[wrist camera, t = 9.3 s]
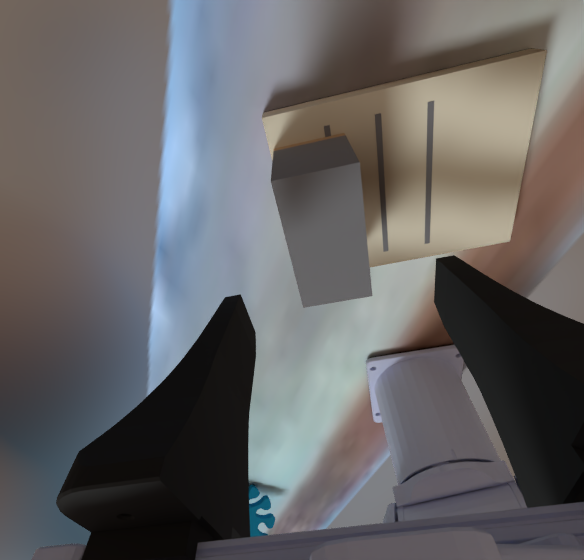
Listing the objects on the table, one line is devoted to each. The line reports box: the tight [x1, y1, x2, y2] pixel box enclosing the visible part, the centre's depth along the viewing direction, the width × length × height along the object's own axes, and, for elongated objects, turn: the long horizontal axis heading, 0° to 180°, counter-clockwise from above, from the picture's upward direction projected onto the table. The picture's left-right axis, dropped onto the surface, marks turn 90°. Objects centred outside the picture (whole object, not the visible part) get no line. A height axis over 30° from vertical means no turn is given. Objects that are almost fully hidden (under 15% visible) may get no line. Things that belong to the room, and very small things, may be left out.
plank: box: [262, 48, 547, 267], centre depth 19 cm, size 10×13×1 cm
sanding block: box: [271, 133, 372, 308], centre depth 18 cm, size 7×4×4 cm, turn 12°
